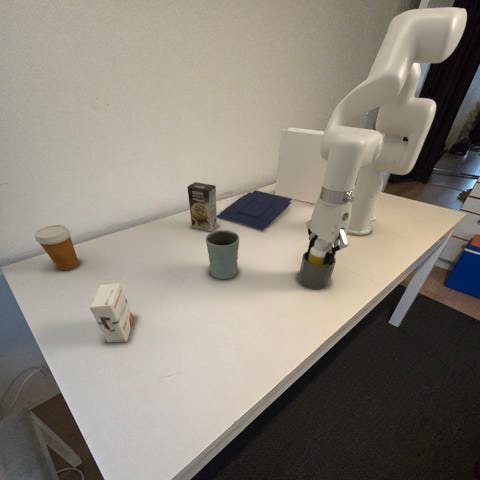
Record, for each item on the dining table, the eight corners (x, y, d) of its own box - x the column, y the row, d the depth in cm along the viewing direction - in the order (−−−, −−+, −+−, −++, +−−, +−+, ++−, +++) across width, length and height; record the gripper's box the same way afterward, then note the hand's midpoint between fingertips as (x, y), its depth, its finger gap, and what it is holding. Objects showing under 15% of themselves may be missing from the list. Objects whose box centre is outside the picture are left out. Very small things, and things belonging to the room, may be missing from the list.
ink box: (115, 318, 70) (99, 282, 61) (134, 317, 70) (121, 281, 62) (106, 343, 63) (87, 307, 55) (127, 342, 64) (111, 306, 56)
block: (274, 194, 138) (281, 129, 118) (281, 190, 143) (289, 127, 123) (340, 209, 124) (360, 139, 105) (345, 204, 129) (365, 136, 110)
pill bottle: (325, 281, 80) (335, 248, 72) (305, 278, 80) (312, 245, 73) (325, 269, 84) (334, 237, 76) (305, 267, 85) (312, 235, 77)
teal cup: (215, 283, 81) (213, 248, 73) (203, 267, 88) (200, 233, 79) (244, 275, 85) (245, 241, 76) (230, 260, 91) (230, 227, 83)
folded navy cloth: (295, 205, 124) (296, 197, 121) (263, 236, 108) (263, 228, 106) (251, 194, 133) (251, 187, 130) (216, 222, 118) (215, 214, 115)
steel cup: (314, 268, 88) (320, 247, 82) (335, 283, 82) (342, 261, 77) (292, 276, 85) (296, 254, 79) (311, 292, 79) (317, 270, 73)
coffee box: (191, 228, 108) (186, 186, 97) (198, 221, 113) (194, 181, 101) (211, 232, 106) (208, 189, 95) (217, 225, 110) (215, 184, 99)
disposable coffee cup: (90, 260, 90) (75, 227, 81) (68, 275, 83) (50, 240, 75) (68, 255, 92) (51, 222, 83) (45, 269, 85) (25, 235, 77)
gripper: (373, 203, 61) (350, 268, 74) (323, 182, 72) (310, 242, 85) (351, 210, 59) (330, 276, 71) (301, 186, 69) (291, 247, 82)
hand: (319, 257), depth 78 cm, fingers closed on pill bottle, 6 cm apart
